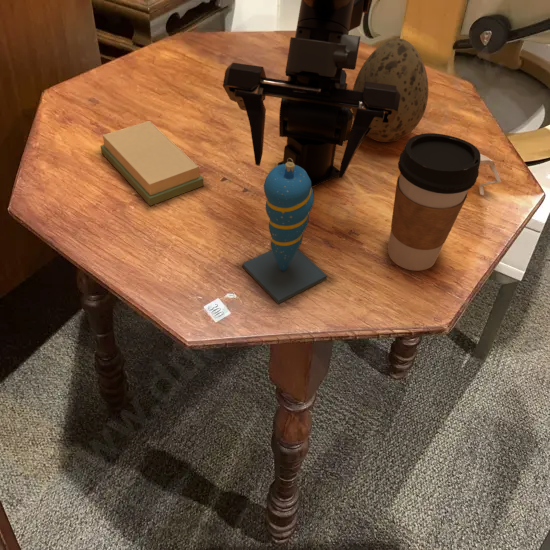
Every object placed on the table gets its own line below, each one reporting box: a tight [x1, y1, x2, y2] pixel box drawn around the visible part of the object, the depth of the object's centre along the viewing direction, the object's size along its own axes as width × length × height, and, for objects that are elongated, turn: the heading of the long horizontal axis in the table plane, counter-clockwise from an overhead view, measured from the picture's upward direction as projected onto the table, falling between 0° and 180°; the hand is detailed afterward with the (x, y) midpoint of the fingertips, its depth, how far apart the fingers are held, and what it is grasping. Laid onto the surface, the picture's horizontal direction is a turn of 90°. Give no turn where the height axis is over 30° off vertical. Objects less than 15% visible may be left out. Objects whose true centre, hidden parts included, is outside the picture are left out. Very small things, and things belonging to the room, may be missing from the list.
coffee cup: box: [387, 132, 481, 272], centre depth 68 cm, size 8×8×15 cm
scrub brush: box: [100, 120, 205, 207], centre depth 82 cm, size 8×14×3 cm, turn 37°
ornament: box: [263, 158, 315, 271], centre depth 64 cm, size 5×5×15 cm
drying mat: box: [241, 248, 328, 304], centre depth 70 cm, size 7×7×1 cm
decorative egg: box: [351, 37, 429, 143], centre depth 86 cm, size 11×11×15 cm
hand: (298, 171), depth 66 cm, fingers open, 9 cm apart
